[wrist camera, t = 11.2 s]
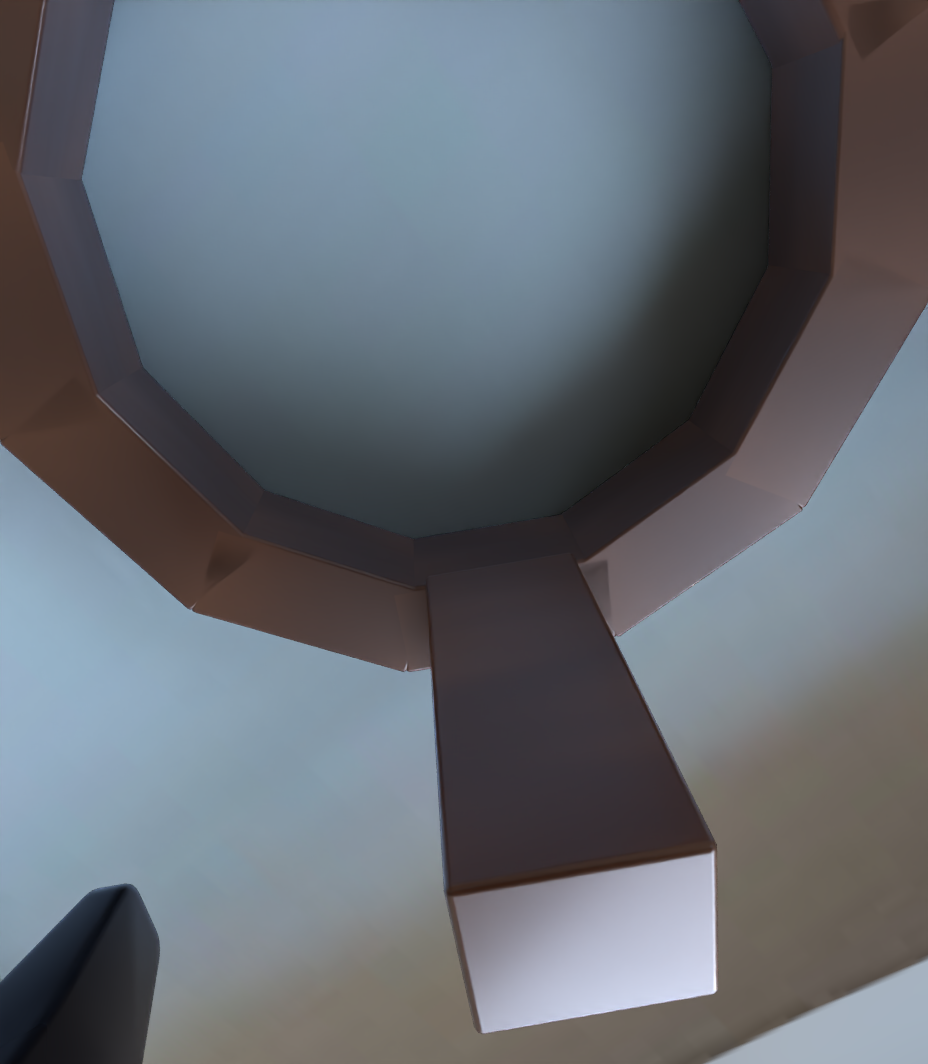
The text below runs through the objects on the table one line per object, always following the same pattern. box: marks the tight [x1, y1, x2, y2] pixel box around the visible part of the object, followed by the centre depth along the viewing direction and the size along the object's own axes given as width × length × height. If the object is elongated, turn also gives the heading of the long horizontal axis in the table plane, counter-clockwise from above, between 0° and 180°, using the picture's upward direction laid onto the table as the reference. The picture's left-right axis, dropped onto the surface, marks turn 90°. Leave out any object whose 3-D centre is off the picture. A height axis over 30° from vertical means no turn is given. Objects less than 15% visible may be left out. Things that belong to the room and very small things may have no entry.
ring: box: [0, 0, 928, 1034], centre depth 8 cm, size 14×14×8 cm
